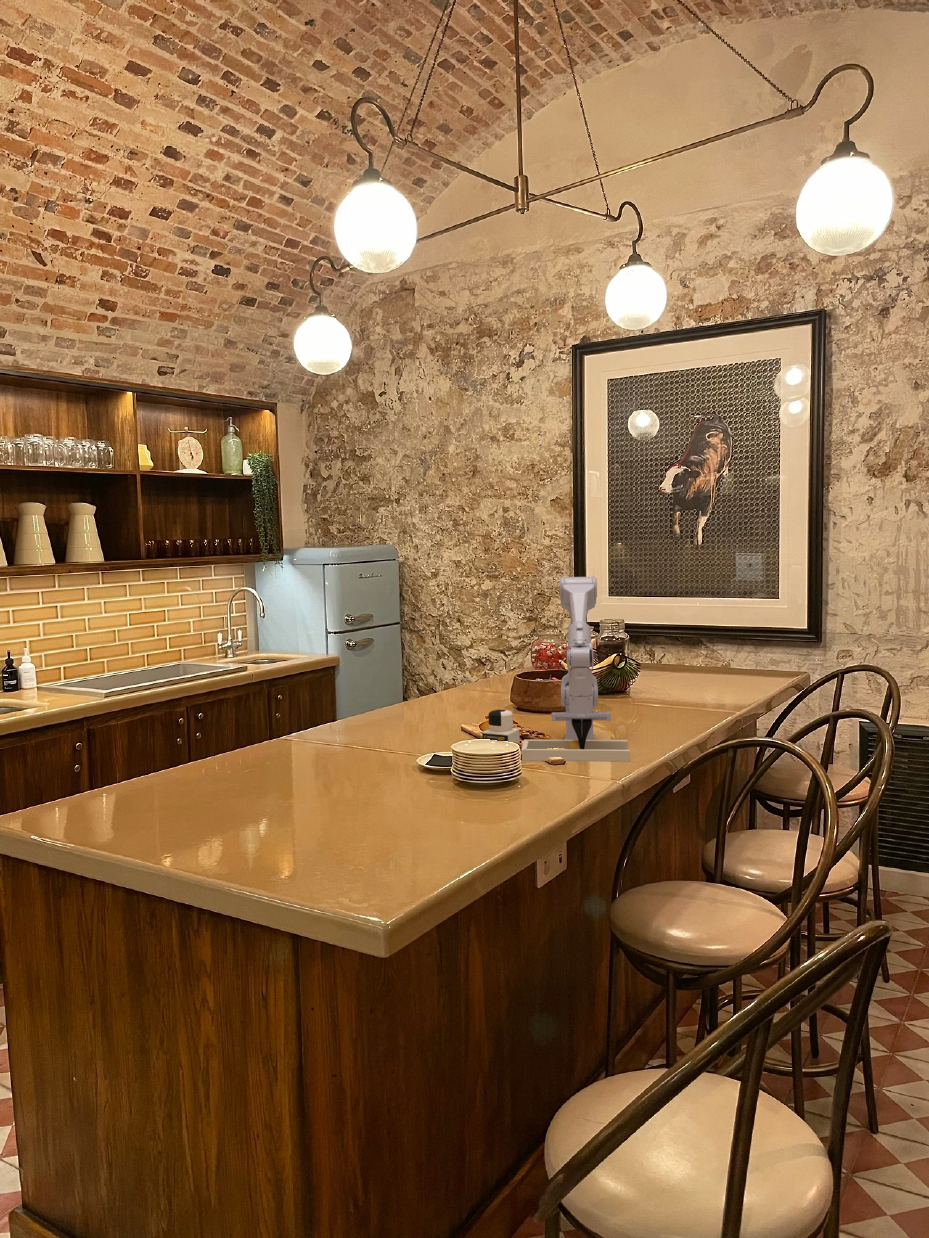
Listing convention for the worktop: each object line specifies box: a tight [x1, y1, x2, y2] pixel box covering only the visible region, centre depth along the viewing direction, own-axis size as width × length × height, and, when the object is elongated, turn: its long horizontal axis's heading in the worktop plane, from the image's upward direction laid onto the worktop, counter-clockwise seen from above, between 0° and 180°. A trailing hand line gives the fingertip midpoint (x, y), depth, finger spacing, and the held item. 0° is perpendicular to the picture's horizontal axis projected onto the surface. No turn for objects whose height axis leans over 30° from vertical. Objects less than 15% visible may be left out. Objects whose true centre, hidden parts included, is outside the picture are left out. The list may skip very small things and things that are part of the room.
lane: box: [520, 739, 631, 763], centre depth 237 cm, size 12×26×3 cm, turn 83°
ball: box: [568, 740, 580, 749], centre depth 236 cm, size 4×4×4 cm
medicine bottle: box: [481, 709, 520, 744], centre depth 237 cm, size 7×7×12 cm
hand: (581, 749), depth 236 cm, fingers closed, pressing on ball
